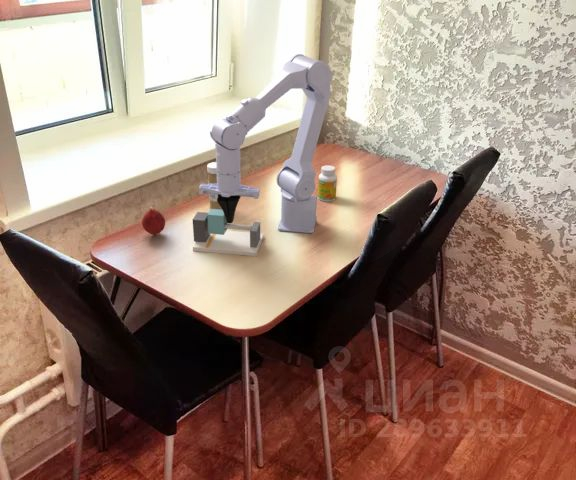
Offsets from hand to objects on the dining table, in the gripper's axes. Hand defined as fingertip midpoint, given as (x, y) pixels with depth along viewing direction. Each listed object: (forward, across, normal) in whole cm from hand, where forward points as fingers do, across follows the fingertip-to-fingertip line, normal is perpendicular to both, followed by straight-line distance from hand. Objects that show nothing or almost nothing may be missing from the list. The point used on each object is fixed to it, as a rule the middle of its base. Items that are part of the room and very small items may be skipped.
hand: (230, 221), depth 143 cm
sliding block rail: (+6, 0, 0) cm, 6 cm away
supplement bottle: (+7, +22, +32) cm, 39 cm away
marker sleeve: (+3, -3, 0) cm, 4 cm away
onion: (+7, -20, +1) cm, 22 cm away
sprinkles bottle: (+7, -8, +19) cm, 22 cm away
